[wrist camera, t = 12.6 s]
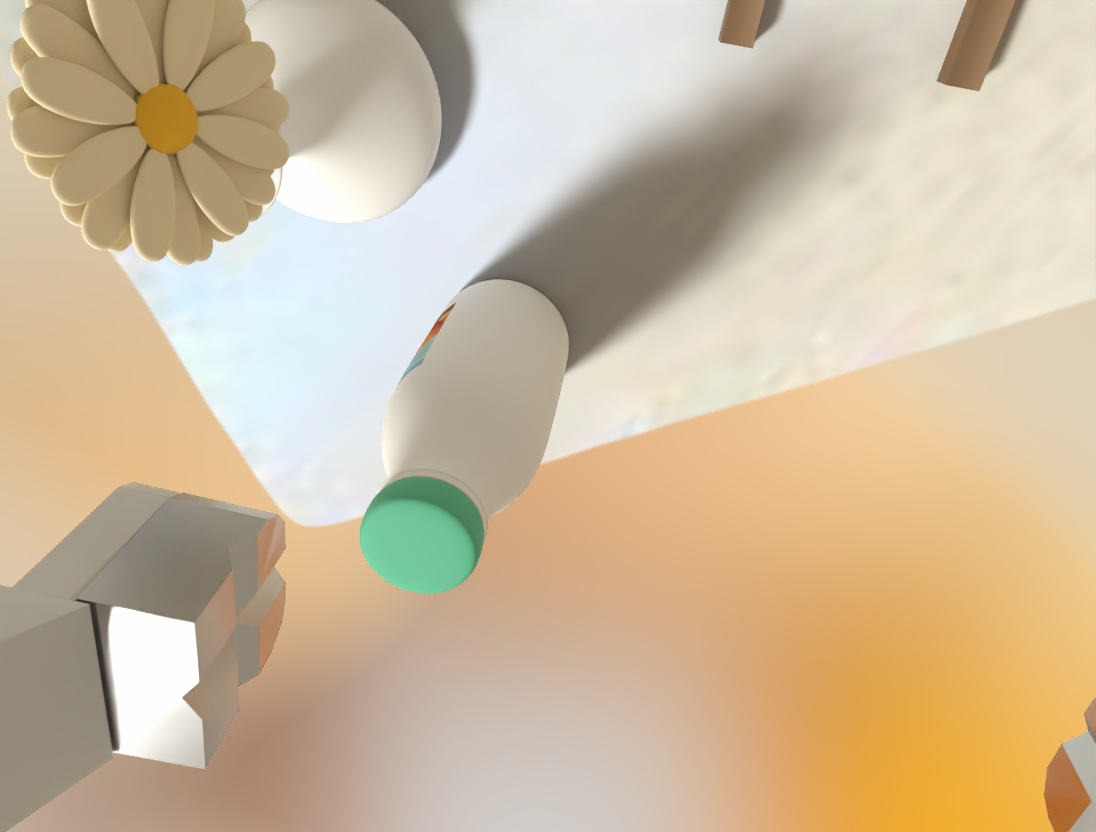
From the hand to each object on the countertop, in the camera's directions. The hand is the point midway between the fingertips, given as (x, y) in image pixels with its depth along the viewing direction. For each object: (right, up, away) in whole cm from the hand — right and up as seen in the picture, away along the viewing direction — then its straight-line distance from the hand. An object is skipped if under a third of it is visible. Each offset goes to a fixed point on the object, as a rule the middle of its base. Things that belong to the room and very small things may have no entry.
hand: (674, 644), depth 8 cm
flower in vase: (-12, +19, +34) cm, 41 cm away
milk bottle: (-4, +7, +40) cm, 40 cm away
